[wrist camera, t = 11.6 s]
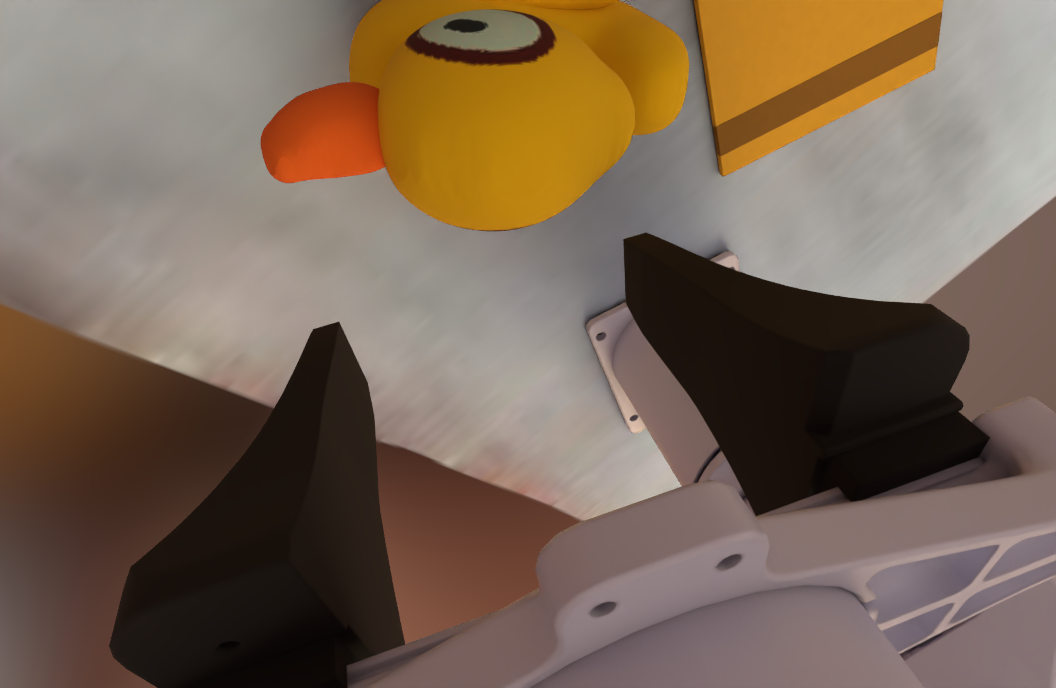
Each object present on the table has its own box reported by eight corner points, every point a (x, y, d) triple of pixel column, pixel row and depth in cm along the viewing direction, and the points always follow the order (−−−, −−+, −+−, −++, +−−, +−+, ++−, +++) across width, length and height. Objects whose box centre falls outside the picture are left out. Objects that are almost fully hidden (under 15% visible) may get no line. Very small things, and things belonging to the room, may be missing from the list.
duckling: (299, 146, 19) (292, 314, 12) (254, -44, 16) (205, 25, 9) (610, 121, 22) (762, 246, 15) (627, -48, 19) (837, 3, 11)
